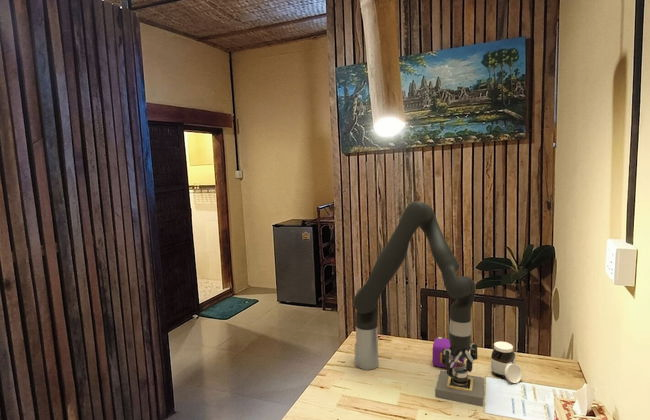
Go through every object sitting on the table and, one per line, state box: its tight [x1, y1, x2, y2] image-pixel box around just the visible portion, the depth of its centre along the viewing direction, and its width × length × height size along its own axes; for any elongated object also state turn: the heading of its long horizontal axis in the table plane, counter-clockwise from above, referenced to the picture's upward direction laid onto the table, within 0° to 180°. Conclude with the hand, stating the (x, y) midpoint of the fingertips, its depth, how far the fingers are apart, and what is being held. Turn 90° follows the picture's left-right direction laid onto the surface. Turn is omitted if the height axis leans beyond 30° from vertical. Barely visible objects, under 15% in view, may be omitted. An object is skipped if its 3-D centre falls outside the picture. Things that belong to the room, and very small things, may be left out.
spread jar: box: [490, 341, 523, 384], centre depth 155 cm, size 12×11×12 cm
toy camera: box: [432, 336, 467, 369], centre depth 166 cm, size 11×14×10 cm
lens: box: [452, 366, 469, 389], centre depth 146 cm, size 5×5×8 cm
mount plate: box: [434, 370, 485, 407], centre depth 146 cm, size 16×14×4 cm
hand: (459, 373), depth 145 cm, fingers open, 8 cm apart
